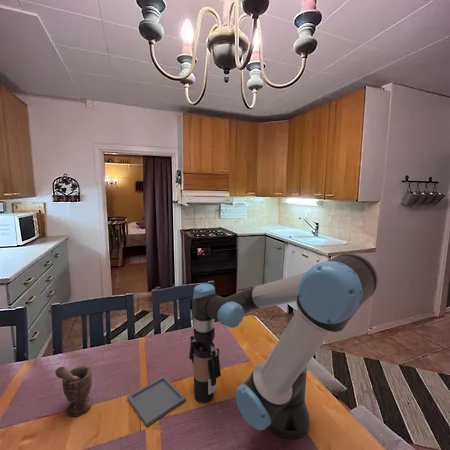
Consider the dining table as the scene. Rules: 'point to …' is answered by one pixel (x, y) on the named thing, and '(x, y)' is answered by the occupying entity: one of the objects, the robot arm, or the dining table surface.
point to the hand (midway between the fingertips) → (204, 385)
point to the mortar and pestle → (76, 388)
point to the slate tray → (156, 400)
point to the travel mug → (201, 375)
